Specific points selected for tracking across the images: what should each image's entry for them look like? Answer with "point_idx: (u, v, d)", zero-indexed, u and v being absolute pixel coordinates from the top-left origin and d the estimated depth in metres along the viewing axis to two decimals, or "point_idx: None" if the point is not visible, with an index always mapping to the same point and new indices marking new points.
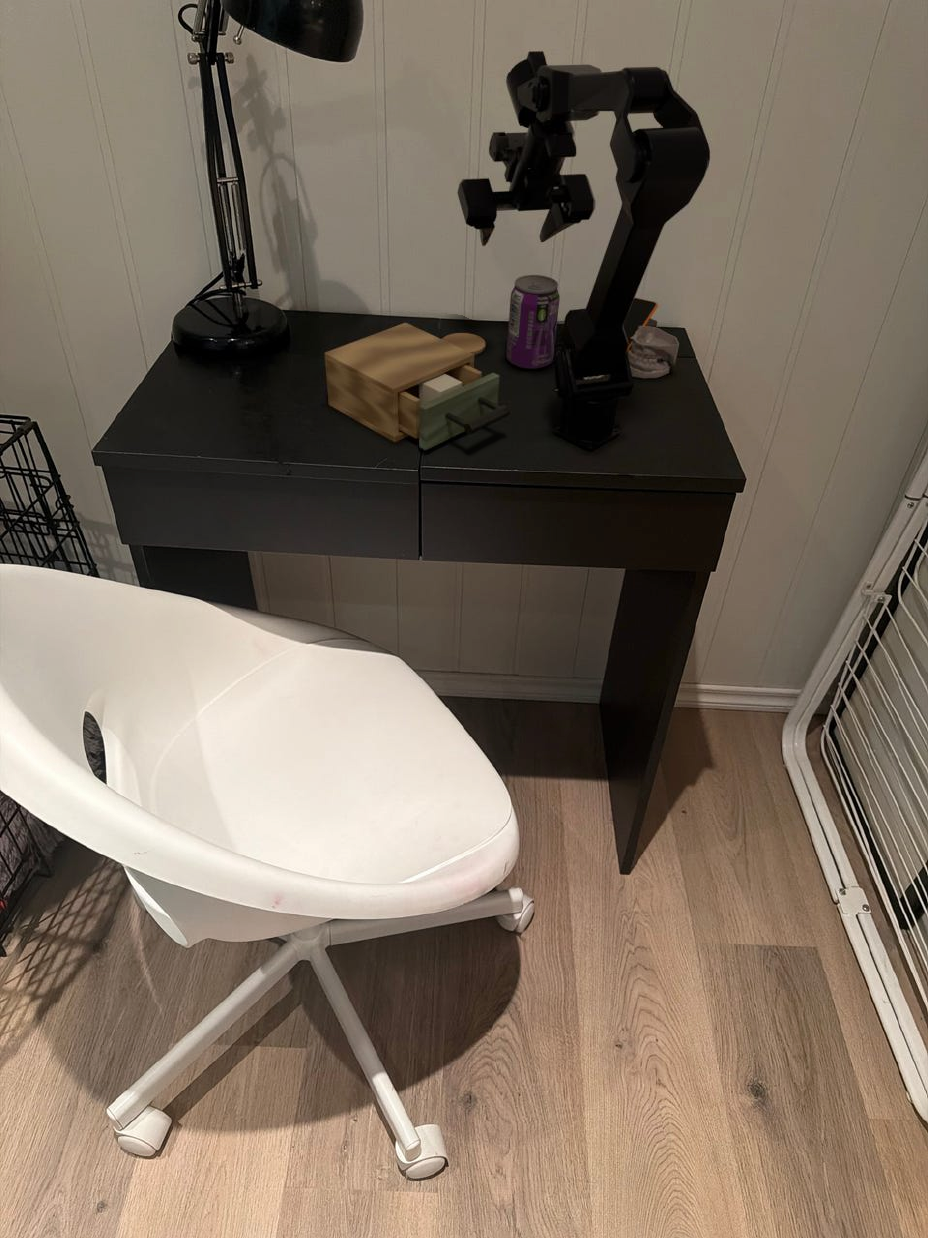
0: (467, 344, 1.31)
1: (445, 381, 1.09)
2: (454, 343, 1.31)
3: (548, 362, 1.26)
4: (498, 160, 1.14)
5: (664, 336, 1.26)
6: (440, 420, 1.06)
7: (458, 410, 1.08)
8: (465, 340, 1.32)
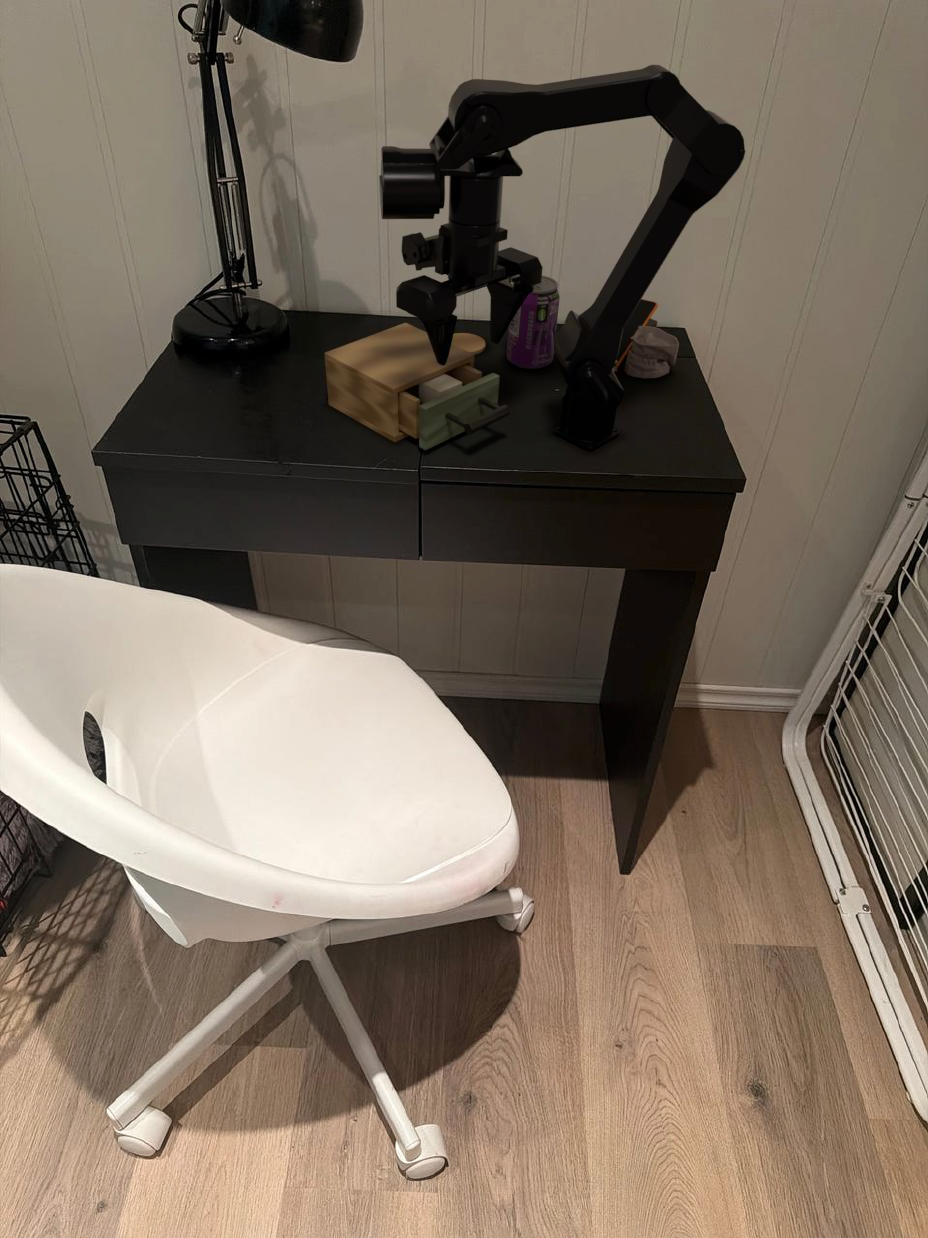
0: (467, 344, 1.31)
1: (445, 381, 1.09)
2: (454, 343, 1.31)
3: (548, 362, 1.26)
4: (422, 259, 0.96)
5: (664, 336, 1.26)
6: (440, 420, 1.06)
7: (458, 410, 1.08)
8: (465, 340, 1.32)
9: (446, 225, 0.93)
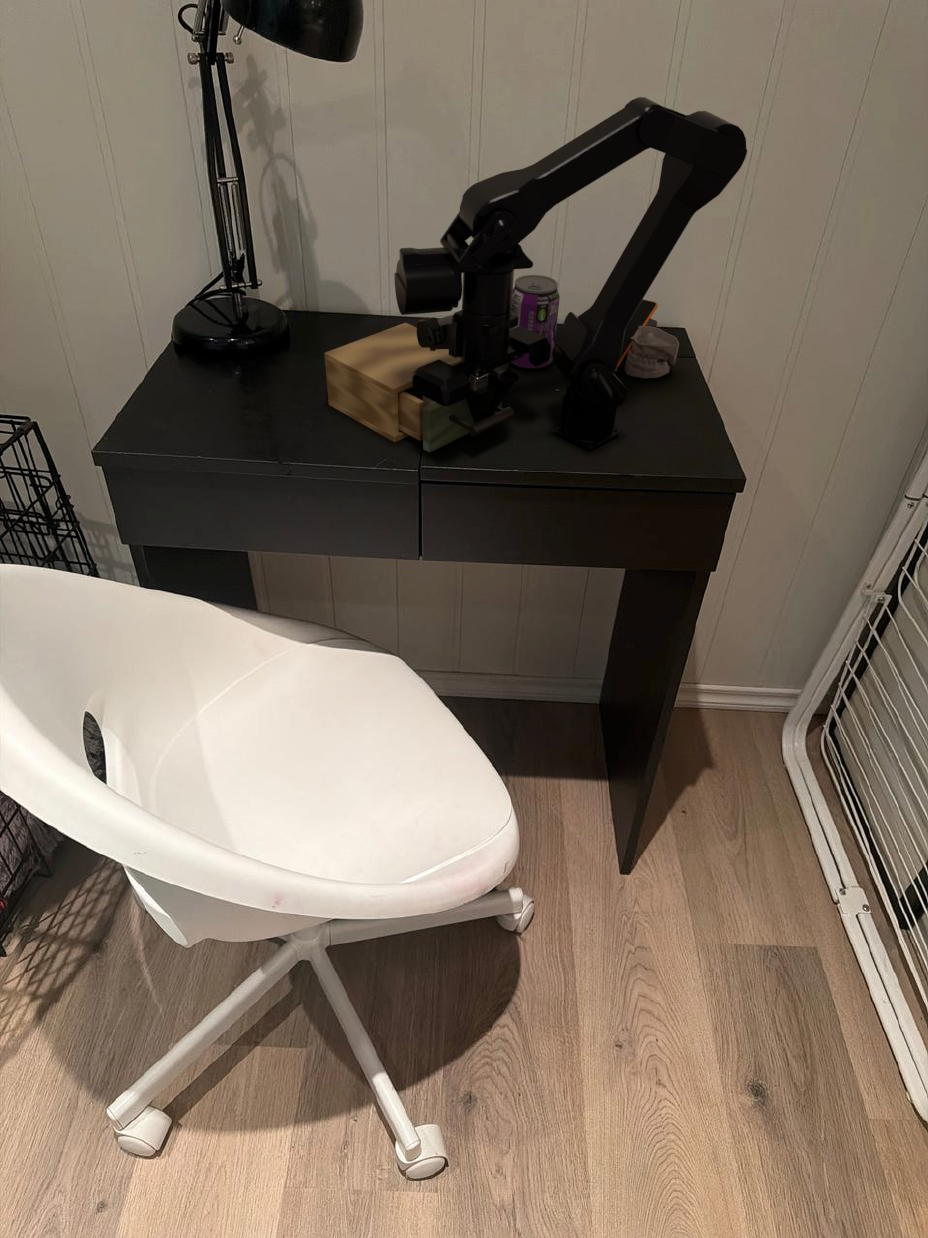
0: None
1: None
2: None
3: (548, 362, 1.26)
4: (436, 343, 1.01)
5: (664, 336, 1.26)
6: (444, 422, 1.06)
7: (462, 412, 1.07)
8: None
9: (459, 313, 0.98)
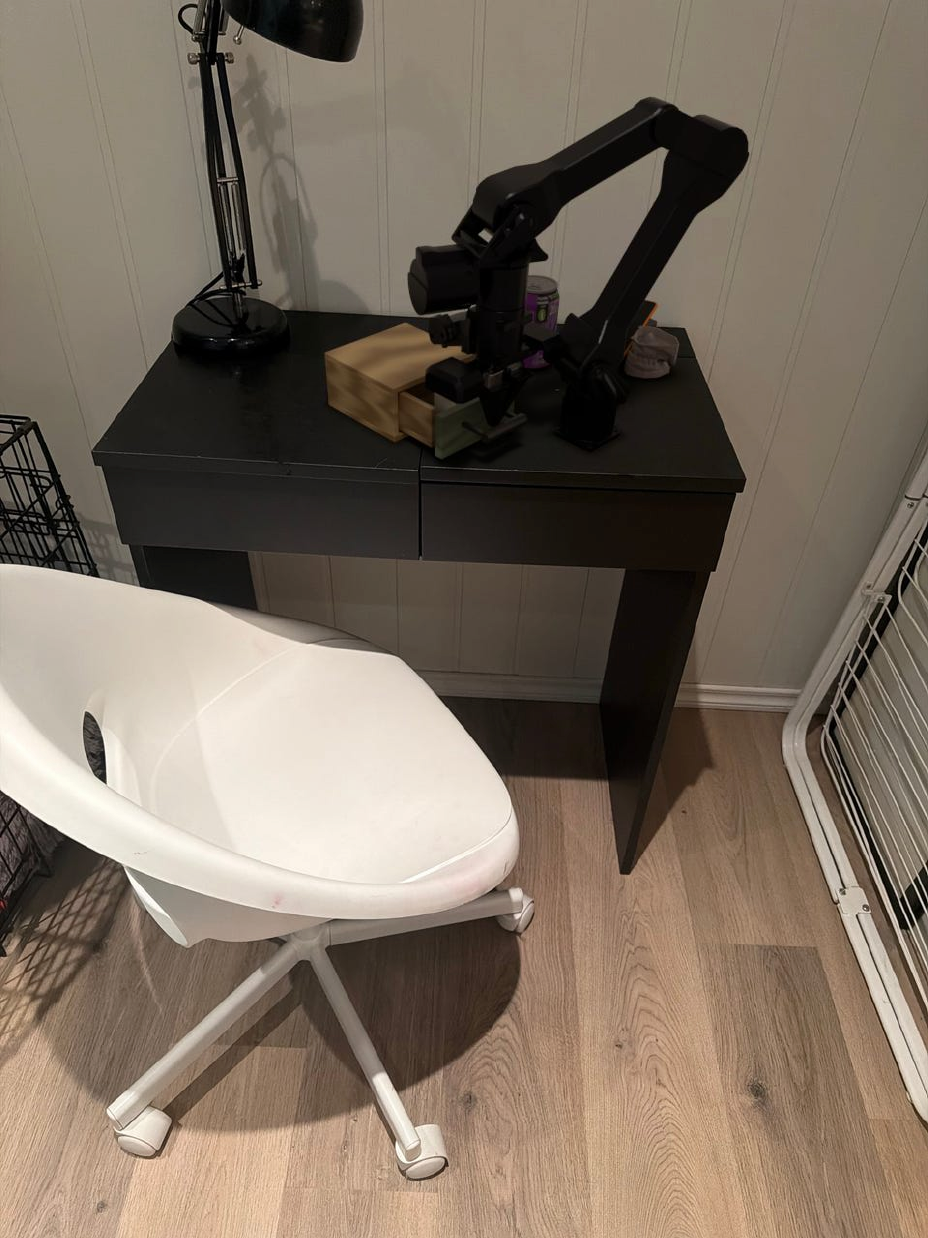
0: None
1: None
2: None
3: None
4: (449, 340, 0.99)
5: (664, 336, 1.26)
6: (456, 429, 1.05)
7: (474, 419, 1.06)
8: None
9: (473, 309, 0.96)
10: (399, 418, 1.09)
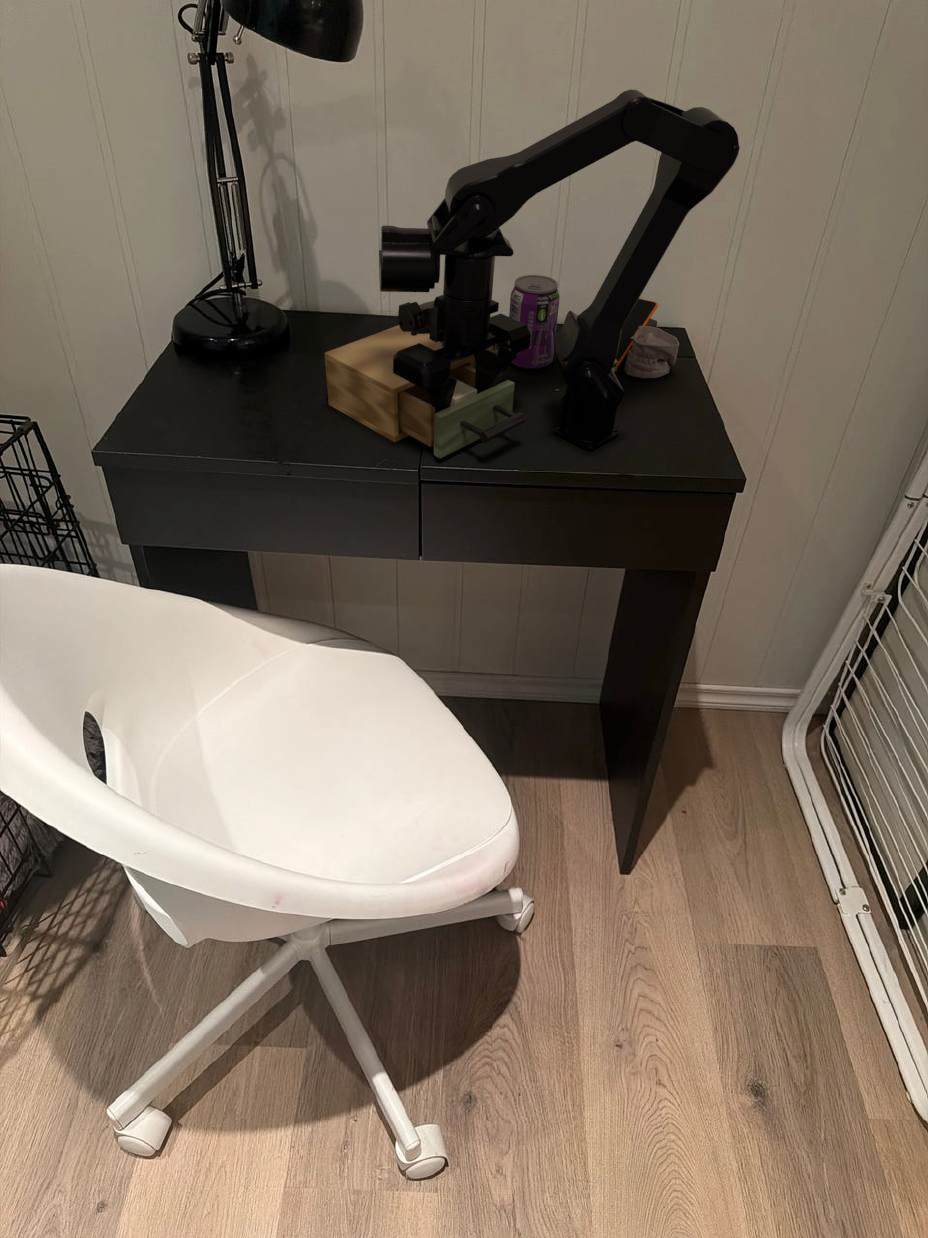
0: None
1: (460, 388, 1.08)
2: None
3: (548, 362, 1.26)
4: (417, 327, 1.01)
5: (664, 336, 1.26)
6: (455, 428, 1.05)
7: (473, 418, 1.06)
8: None
9: (441, 297, 0.99)
10: (398, 417, 1.09)
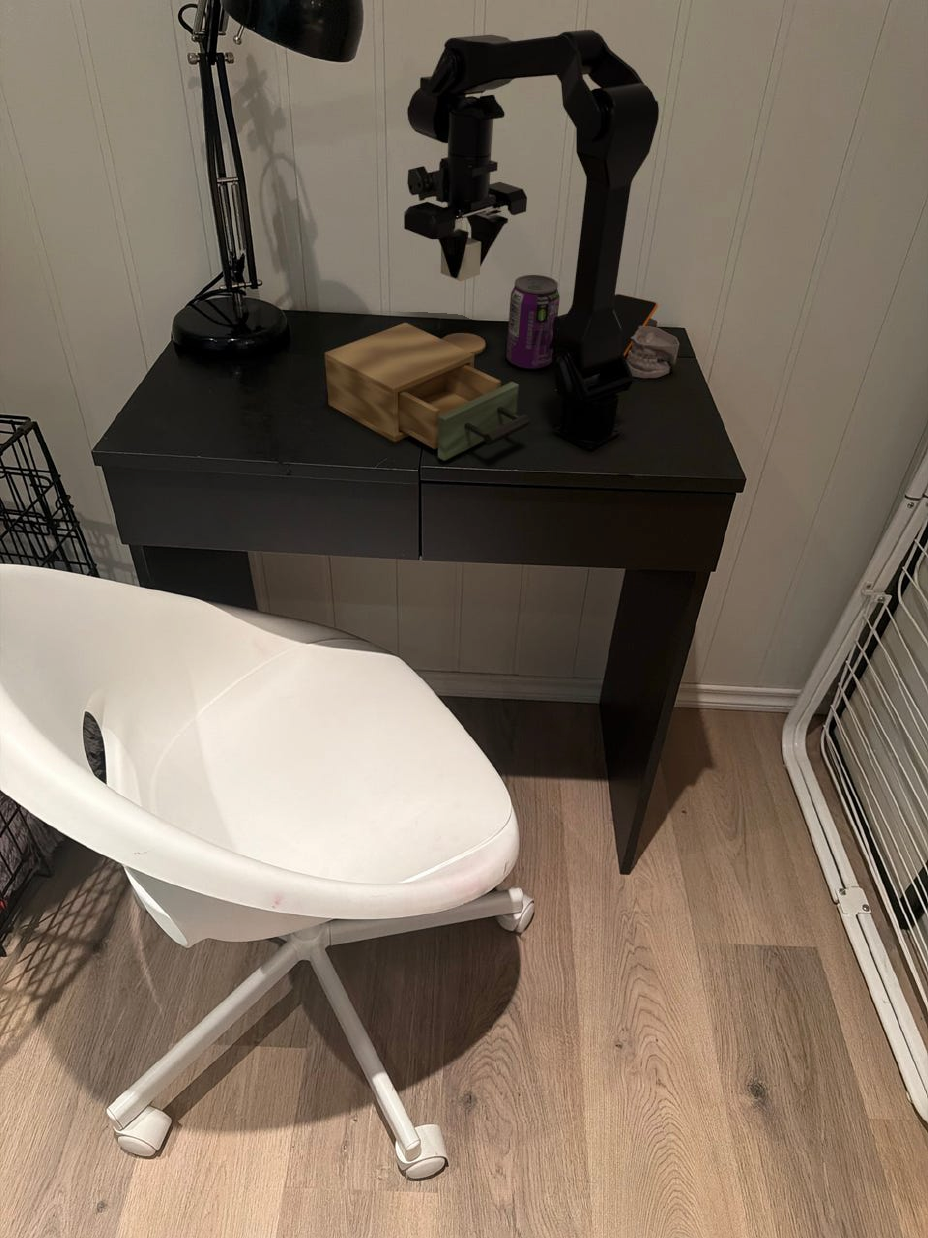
0: (467, 344, 1.31)
1: None
2: (454, 343, 1.31)
3: (548, 362, 1.26)
4: (425, 189, 1.13)
5: (664, 336, 1.26)
6: (459, 430, 1.04)
7: (477, 420, 1.06)
8: (465, 340, 1.32)
9: (445, 158, 1.10)
10: (402, 419, 1.08)
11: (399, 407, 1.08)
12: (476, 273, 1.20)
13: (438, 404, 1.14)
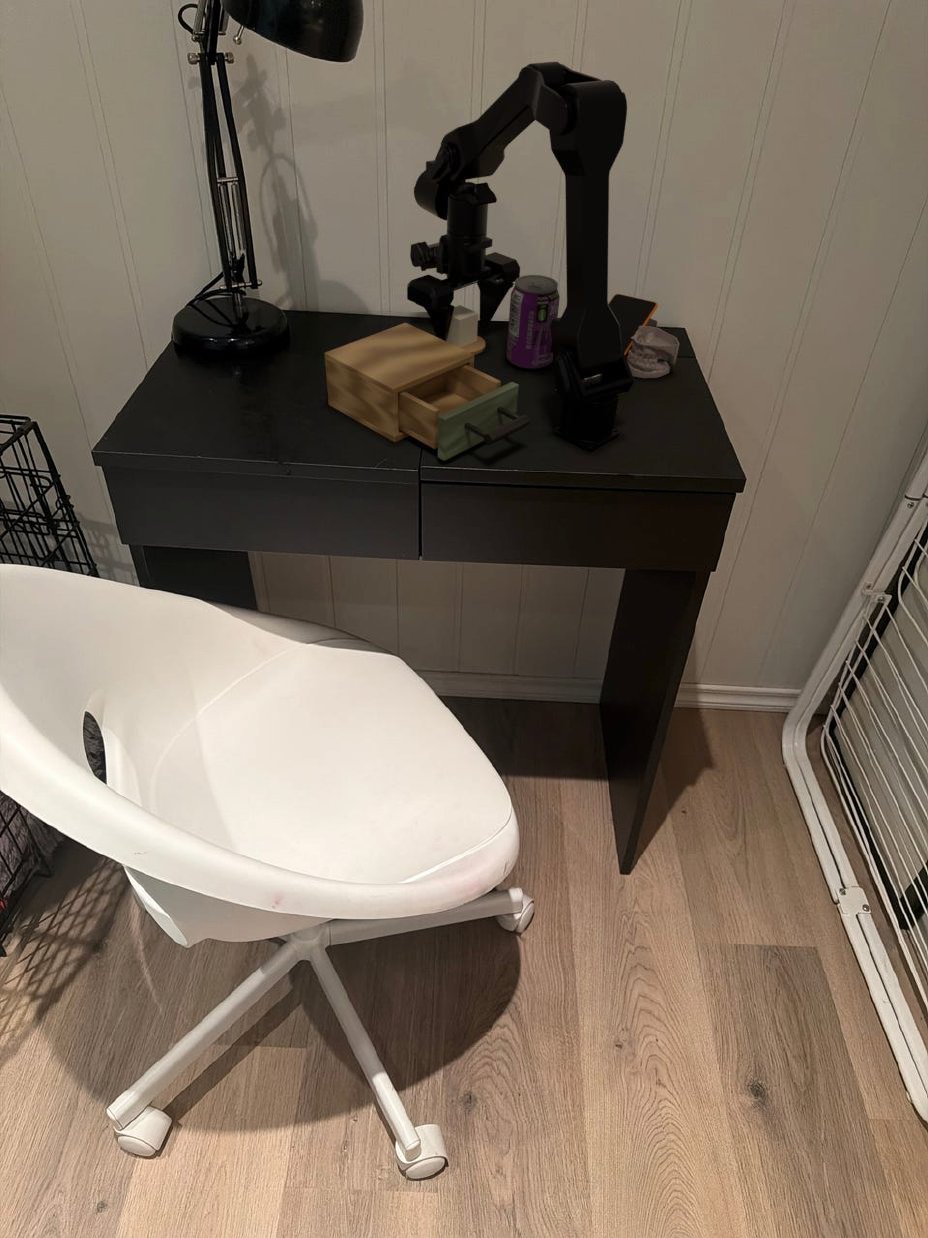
0: None
1: (464, 312, 1.29)
2: None
3: (548, 362, 1.26)
4: (426, 262, 1.24)
5: (664, 336, 1.26)
6: (459, 430, 1.04)
7: (477, 420, 1.06)
8: None
9: (445, 236, 1.21)
10: (402, 419, 1.08)
11: (399, 407, 1.08)
12: (473, 340, 1.31)
13: (438, 404, 1.14)
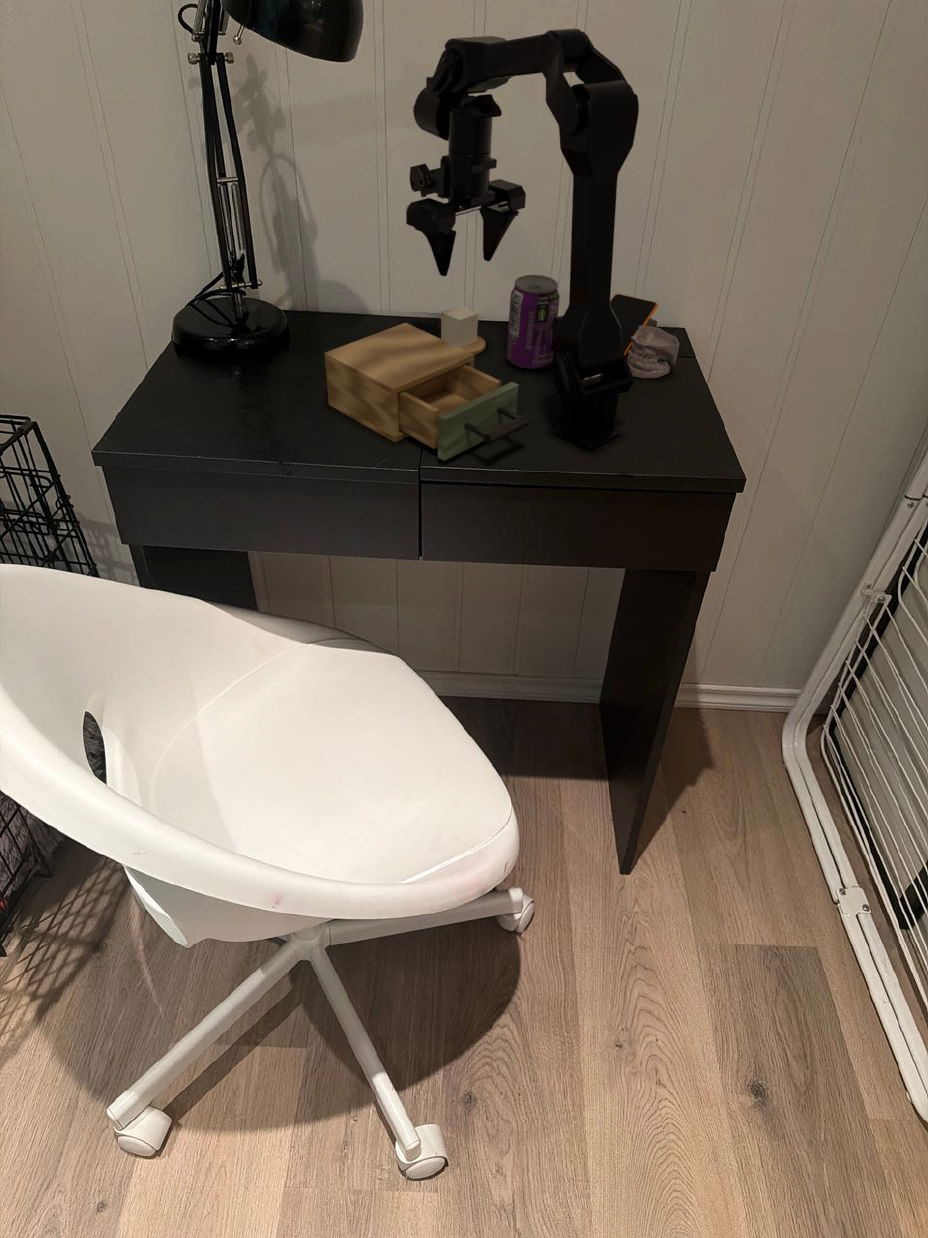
0: None
1: (464, 312, 1.29)
2: None
3: (548, 362, 1.26)
4: (426, 185, 1.17)
5: (664, 336, 1.26)
6: (459, 430, 1.04)
7: (477, 420, 1.06)
8: None
9: (446, 156, 1.14)
10: (402, 419, 1.08)
11: (399, 407, 1.08)
12: (473, 340, 1.31)
13: (438, 404, 1.14)
